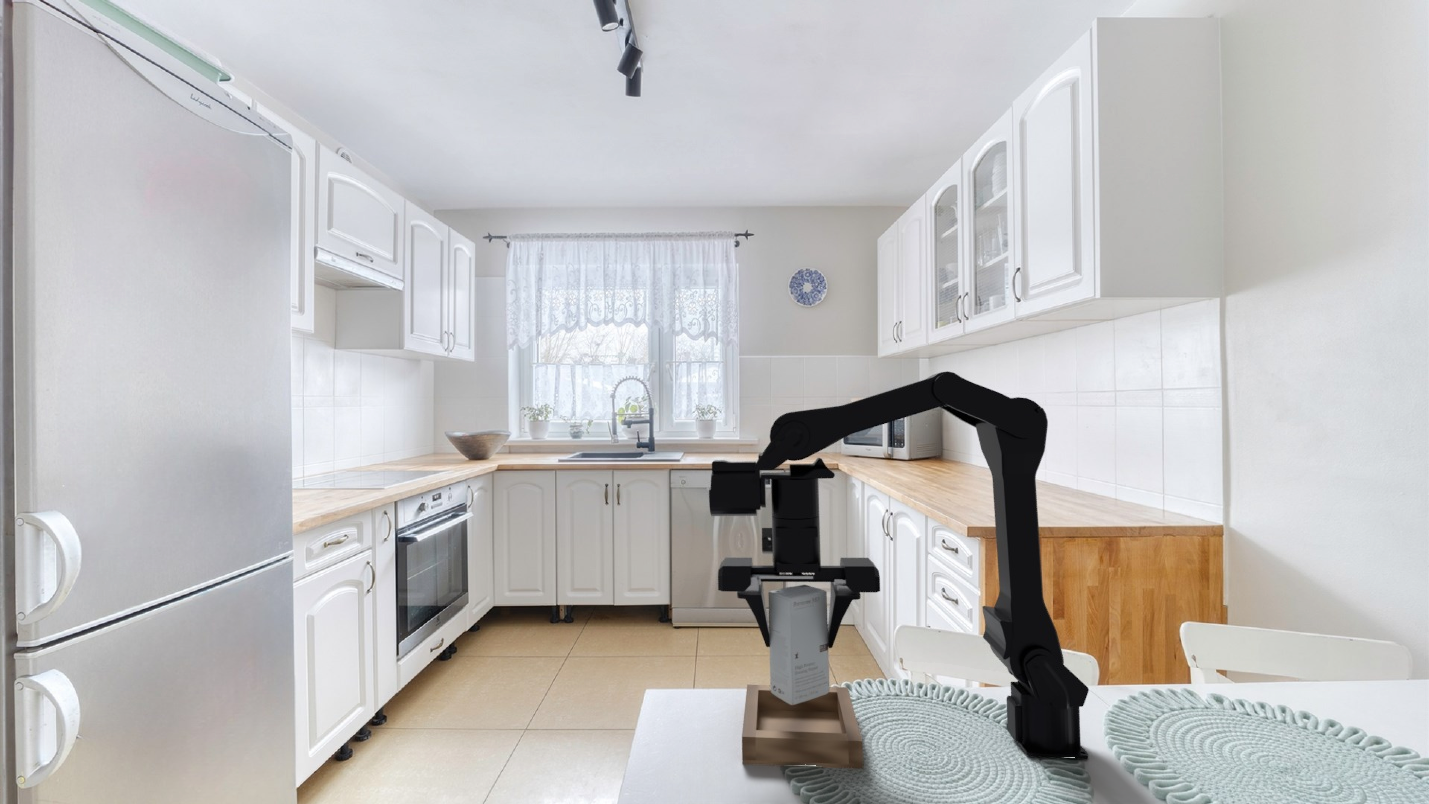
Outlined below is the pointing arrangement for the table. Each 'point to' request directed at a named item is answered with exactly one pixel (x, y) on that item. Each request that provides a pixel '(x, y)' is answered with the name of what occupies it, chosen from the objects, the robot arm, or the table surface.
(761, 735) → the brown wooden tray
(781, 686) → the skincare box
